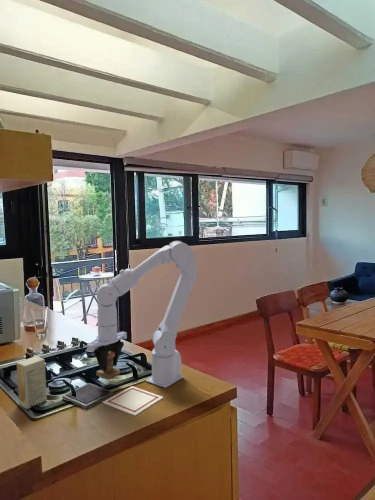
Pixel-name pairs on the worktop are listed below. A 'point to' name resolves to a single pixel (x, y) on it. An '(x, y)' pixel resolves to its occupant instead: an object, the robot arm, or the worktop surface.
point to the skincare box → (31, 381)
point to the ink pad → (88, 395)
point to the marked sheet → (133, 400)
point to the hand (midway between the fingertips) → (108, 367)
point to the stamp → (109, 368)
